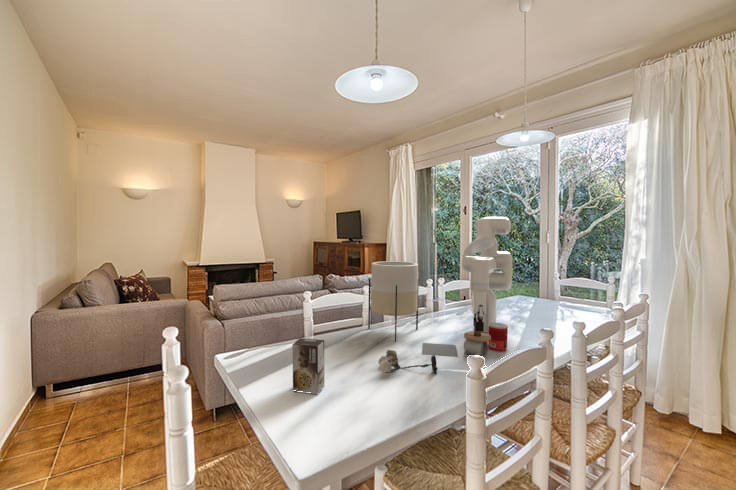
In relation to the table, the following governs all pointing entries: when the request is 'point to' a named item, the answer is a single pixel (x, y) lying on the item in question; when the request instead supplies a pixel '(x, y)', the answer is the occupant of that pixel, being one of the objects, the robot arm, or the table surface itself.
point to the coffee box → (308, 365)
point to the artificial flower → (392, 360)
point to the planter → (394, 289)
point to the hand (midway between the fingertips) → (478, 328)
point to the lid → (477, 336)
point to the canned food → (498, 337)
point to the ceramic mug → (475, 348)
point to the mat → (439, 349)
